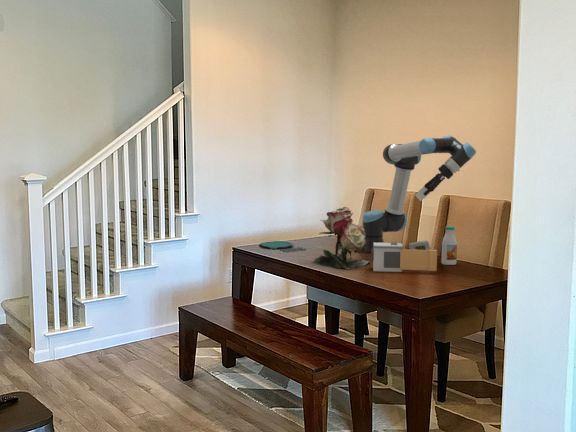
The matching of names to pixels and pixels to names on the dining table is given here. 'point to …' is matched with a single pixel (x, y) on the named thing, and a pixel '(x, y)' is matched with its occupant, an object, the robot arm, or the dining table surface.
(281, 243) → the cutlery set
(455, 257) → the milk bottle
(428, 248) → the digital clock
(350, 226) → the rose bouquet
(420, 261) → the tan long-handled part
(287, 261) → the dining table surface
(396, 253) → the box
